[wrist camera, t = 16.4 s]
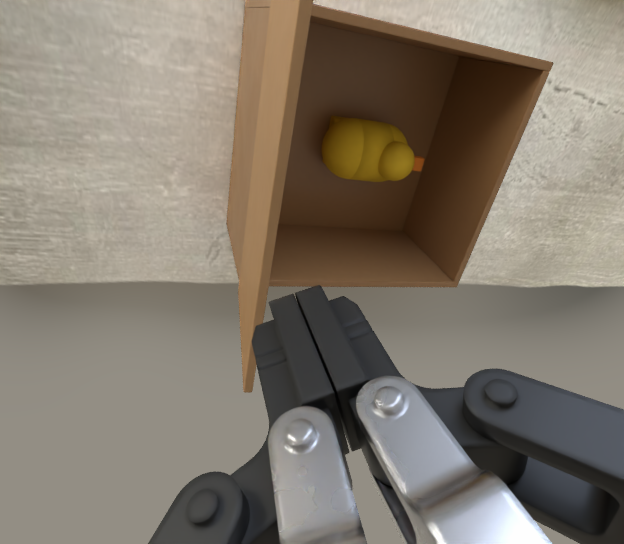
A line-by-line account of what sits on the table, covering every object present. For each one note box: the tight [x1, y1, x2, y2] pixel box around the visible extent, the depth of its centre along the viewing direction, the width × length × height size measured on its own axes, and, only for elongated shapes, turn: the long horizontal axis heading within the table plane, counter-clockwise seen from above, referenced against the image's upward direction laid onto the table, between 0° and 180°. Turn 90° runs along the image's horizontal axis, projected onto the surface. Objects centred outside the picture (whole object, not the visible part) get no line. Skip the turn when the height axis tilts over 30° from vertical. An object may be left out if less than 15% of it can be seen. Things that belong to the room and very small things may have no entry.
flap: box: [238, 0, 313, 392], centre depth 18 cm, size 8×16×1 cm
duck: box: [322, 116, 425, 182], centre depth 30 cm, size 7×4×6 cm, turn 79°
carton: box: [226, 0, 553, 287], centre depth 29 cm, size 17×16×10 cm
